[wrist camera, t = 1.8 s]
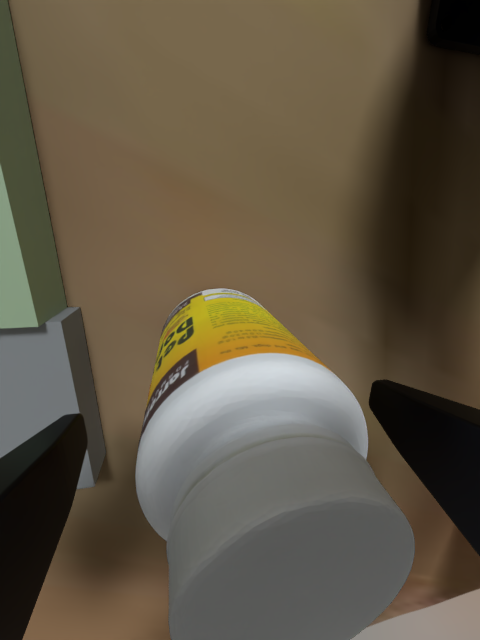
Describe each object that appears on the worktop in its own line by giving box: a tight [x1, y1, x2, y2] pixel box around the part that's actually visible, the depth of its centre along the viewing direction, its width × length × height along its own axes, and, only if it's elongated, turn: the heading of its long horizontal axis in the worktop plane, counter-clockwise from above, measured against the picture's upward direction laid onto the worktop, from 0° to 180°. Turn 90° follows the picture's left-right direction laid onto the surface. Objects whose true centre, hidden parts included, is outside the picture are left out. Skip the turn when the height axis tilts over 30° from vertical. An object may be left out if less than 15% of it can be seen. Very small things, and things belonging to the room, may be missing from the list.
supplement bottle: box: [135, 288, 415, 640], centre depth 9 cm, size 6×6×10 cm
